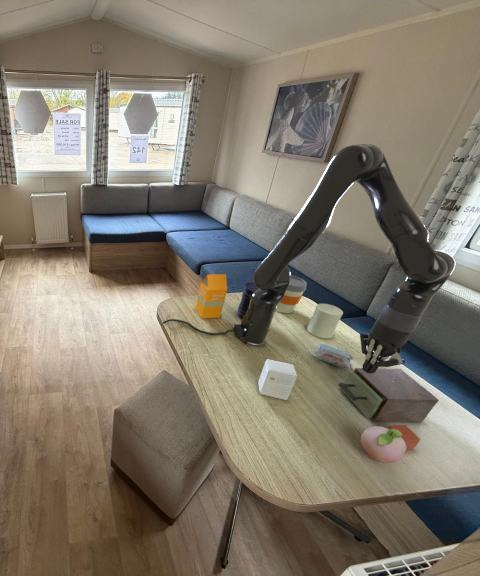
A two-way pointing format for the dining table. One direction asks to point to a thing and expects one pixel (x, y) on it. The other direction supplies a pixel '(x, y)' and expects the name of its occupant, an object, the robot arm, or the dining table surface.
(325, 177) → the robot arm
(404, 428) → the block
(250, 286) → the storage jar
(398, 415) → the cabinet
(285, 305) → the reusable coffee cup
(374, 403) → the drawer
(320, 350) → the packaged food
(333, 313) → the can
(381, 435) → the decorative fruit
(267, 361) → the small box
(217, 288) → the orange juice
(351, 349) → the dining table surface
